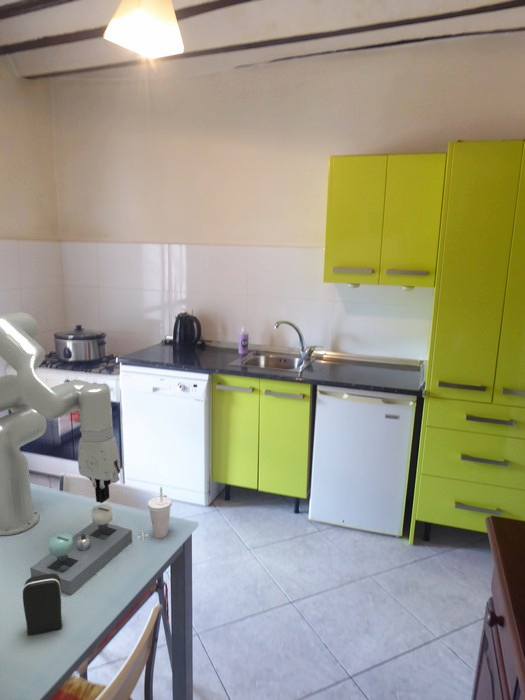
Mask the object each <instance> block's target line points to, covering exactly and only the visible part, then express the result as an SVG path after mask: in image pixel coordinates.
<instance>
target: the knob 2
mask: <svg viewBox="0 0 525 700" xmlns="http://www.w3.org/2000/svg"><path fill="white" fill-rule="evenodd" d="M91 520H92V521H91V523H92V522H93V523H94V524H96V525H98V529H99V530H101V531H102V530H106V529H107V528H108V523H109V524H110V523H111V522H112V521H113V506H111V504H107V503H101V504H99V505H96V506H93V508H92V509H91Z"/></svg>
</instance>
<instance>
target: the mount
mask: <svg viewBox="0 0 525 700" xmlns="http://www.w3.org/2000/svg"><path fill="white" fill-rule="evenodd" d="M82 534H85V535H88V536H90V546H91V547H90V549H88V550H86V551H79V550H78V545H77V539H78V538H79V537H80V536H81V535H82ZM72 540H73V550H72V551H71V552H70V553H68V559H67V560H66V561H64V562H58V561H57V556H52V555H51V554H50V553H48V554H47V555H46V556H44V557H43V558H41V559H40V560H38V561H37V562H36V563H34V564H33V565H32V566H31V567H30V569H29V570H30V578H31V577H35V576H40V575H45V574H52V573H54V574H57V575H58V576H59V577H60V582H61V593H64V594H67V595H70V596H72V595H73V594H74V593H75V592H76V591H77V590H79V589H80V588H81V587H83V585H84V584H85V583H87V582H88V581H89V580H90V579H91V578H92V577H94V576H95V575H96V574H97V573H98V572H99V571H101V570H102V569H103V568H104V567H105V566H106V565H108V563H110V562H111V560H113V559H115V557H116V556H117V555H119V554H120V553H121V552H122V551H123V550H124V549H126V548H127V547H128V546H129V545H131V543H133V531H132V529H129V528H127V527H126V528H125V527H122V526H119V525H115V524H111V523H110V522H109V523H108V528H107V529H106V530H102V531H101V530H99V529H98V525H96V524H94V523H93V522H92V521H91V523H90V524H88V525H87V526H86V527H84V528H83V529H81V530H80V531H78V533H76V534H74V535H72Z"/></svg>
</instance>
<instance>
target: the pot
mask: <svg viewBox="0 0 525 700" xmlns="http://www.w3.org/2000/svg"><path fill="white" fill-rule="evenodd" d="M77 545H78V550H79V551H86V550H88V549H90V547H91V546H90V536H88V535H85V534H82V535H81V536H80V537H79V538H78V539H77Z"/></svg>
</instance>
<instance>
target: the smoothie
mask: <svg viewBox="0 0 525 700" xmlns="http://www.w3.org/2000/svg"><path fill="white" fill-rule="evenodd" d="M159 487H160V486H159ZM159 492H160V493H159V496H156V497H153V498H151V499H150V500H148V501H147V509H148V510H149V514H150V515H149V517H150V520H151V525H152V526H151V527H152V531H153V532H152V533H153V537H154V538H156V539H163V538H166V537H167V535H169V534H168V533H169V524H170V523H169V522H170V514H171V507H172V505H173V504H172V503H173V502H172V499H171V498H169V497H167V496H163V486H161V487H160V488H159Z"/></svg>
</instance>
